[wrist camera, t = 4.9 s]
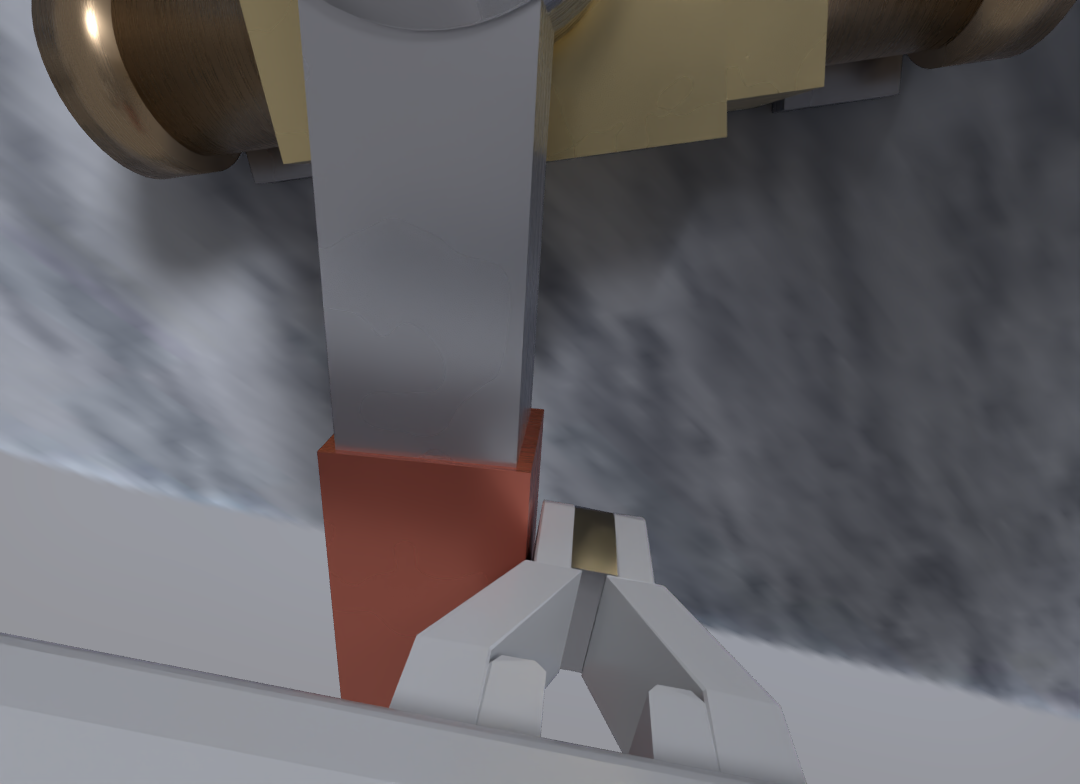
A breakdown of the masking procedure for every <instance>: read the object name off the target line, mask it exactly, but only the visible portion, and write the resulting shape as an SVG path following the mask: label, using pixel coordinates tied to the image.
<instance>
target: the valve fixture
mask: <svg viewBox="0 0 1080 784" xmlns="http://www.w3.org/2000/svg"><path fill="white" fill-rule="evenodd" d="M1076 1H1077V0H591V1H590V2H589V4H588V5H587V6H586V7H585V8H584V9H583V10H582V11H581V12H580V13H579V14H577V15H576V16H575V17H574V18H573V19H572V20H571V21H570V22H569V23H568V24H566V25H565V26H564V27H562V28H561V29H559V30H558V31H556V32H555V33H554V42H553V59H552V75H551V92H550V108H549V124H548V141H547V157H546V162H549V161H557V160H564V159H571V158H579V157H586V156H593V155H601V154H608V153H616V152H623V151H630V150H638V149H645V148H652V147H660V146H667V145H674V144H681V143H688V142H695V141H702V140H709V139H716V138H723V137H727V111H735V110H742V109H749V108H755V107H759V106H762V105H765V104H768V103H772V113H777V112H784V111H791V110H798V109H805V108H812V107H820V106H827V105H834V104H841V103H848V102H855V101H863V100H870V99H877V98H883V97H888V96H892V95H897V94H899V90H900V79H901V68H902V57H903V54H907V55H908V56H909V58H910V59H911V60H912V61H913V62H914V63H915V64H916V65H918V66H920V67H922V68H927V69H932V68H940V67H947V66H954V65H961V64H967V63H974V62H981V61H988V60H995V59H1002V58H1009V57H1013V56H1015V55H1018V54H1021V53H1023V52H1024V51H1026V50H1028V49H1030V48H1031V47H1033V46H1034V45H1036V44H1037V43H1038V42H1040V41H1041V40H1042V39H1043V38H1044V37H1045V36H1046V35H1048V34H1049V33H1050V32H1051V31H1052V30H1053V29H1054V28H1055V27H1056V26H1057V24H1058V23H1059V22H1060V21H1061V20H1062V19H1063V18H1064V16H1065V15H1066V14H1067V13H1068V11H1069V10H1070V9H1071V7H1072V6H1073V5H1074V3H1075V2H1076ZM32 20H33V28H34V33H35V37H36V41H37V45H38V48H39V51H40V54H41V57H42V60H43V63H44V65H45V67H46V70H47V72H48V74H49V77H50V79H51V81H52V83H53V85H54V87H55V88H56V90H57V92H58V94H59V96H60V98H61V99H62V101H63V102H64V104H65V106H66V107H67V109H68V110H69V112H70V113H71V114H72V116H73V117H74V119H75V120H76V121H77V123H78V124H79V125H80V127H81V128H82V129H83V130H84V131H85V132H86V134H87V135H88V136H89V137H90V138H91V139H92V140H93V141H94V142H95V143H96V144H97V145H98V146H99V147H100V148H101V149H102V150H103V151H104V152H105V153H107V154H108V155H109V156H110V157H111V158H113V159H114V160H115V161H117V162H118V163H120V164H121V165H122V166H124V167H126V168H127V169H129V170H131V171H133V172H135V173H137V174H140V175H142V176H145V177H149V178H153V179H169V178H176V177H183V176H190V175H197V174H204V173H211V172H218V171H223V170H225V169H227V168H229V167H230V166H232V165H233V164H234V163H235V162H236V160H237V159H238V157H239V155H240V153H241V152H246V154H247V157H248V161H249V164H250V168H251V171H252V175H253V178H254V182H255V184H263V183H274V182H282V181H289V180H296V179H303V178H310V177H313V176H312V164H311V152H310V140H309V128H308V116H307V104H306V92H305V80H304V68H303V56H302V44H301V32H300V20H299V8H298V0H32Z"/></svg>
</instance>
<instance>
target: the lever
mask: <svg viewBox="0 0 1080 784" xmlns="http://www.w3.org/2000/svg"><path fill="white" fill-rule="evenodd" d="M590 1H591V0H298V8H299V20H300V32H301V44H302V56H303V68H304V80H305V92H306V104H307V116H308V128H309V140H310V152H311V164H312V176H313V188H314V200H315V212H316V224H317V236H318V248H319V260H320V272H321V284H322V296H323V308H324V320H325V332H326V344H327V356H328V368H329V380H330V392H331V404H332V416H333V428H334V434H333V435H332V436H331V438H330V439H329V440H328V441H327V442H326V443H325V444H324V445H323V446H322V447H321V448H320V449H319V450H318V451H317V455H318V465H319V475H320V486H321V496H322V506H323V517H324V527H325V537H326V547H327V558H328V567H329V578H330V589H331V599H332V609H333V619H334V630H335V640H336V650H337V659H338V660H337V661H338V671H339V681H340V692H341V699H345V700H351V701H356V702H361V703H366V704H371V705H376V706H382V707H387V708H389V706H390V704H391V701H392V698H393V696H394V693H395V690H396V688H397V685H398V683H399V680H400V677H401V675H402V672H403V670H404V667H405V664H406V662H407V659H408V657H409V654H410V651H411V649H412V646H413V643H414V641H415V638H416V636H417V635H418V634H419V633H421V632H422V631H423V630H425V629H426V628H428V627H429V626H431V625H432V624H434V623H435V622H436V621H438V620H439V619H441V618H442V617H444V616H445V615H446V614H448V613H449V612H451V611H452V610H454V609H455V608H456V607H458V606H459V605H461V604H462V603H464V602H465V601H466V600H468V599H469V598H471V597H472V596H474V595H475V594H476V593H478V592H479V591H481V590H482V589H484V588H485V587H487V586H488V585H489V584H491V583H492V582H494V581H495V580H497V579H498V578H499V577H501V576H502V575H504V574H505V573H507V572H508V571H509V570H511V569H512V568H514V567H515V566H517V565H518V564H519V563H521V562H522V561H524V560H530V561H532V557H533V552H534V546H535V532H536V517H537V503H538V489H539V475H540V461H541V447H542V433H543V418H544V409H533V408H531V402H532V386H533V370H534V353H535V337H536V321H537V304H538V288H539V271H540V255H541V239H542V222H543V206H544V190H545V173H546V157H547V141H548V124H549V108H550V92H551V75H552V59H553V42H554V33H555V32H556V31H558V30H559V29H561V28H562V27H564V26H565V25H566V24H568V23H569V22H570V21H571V20H572V19H573V18H574V17H575V16H576V15H577V14H579V13H580V12H581V11H582V10H583V9H584V8H585V7H586V6H587V5H588V4H589V2H590Z"/></svg>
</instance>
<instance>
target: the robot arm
mask: <svg viewBox="0 0 1080 784" xmlns="http://www.w3.org/2000/svg"><path fill="white" fill-rule="evenodd" d="M560 669H564V670H571V671H575V672H580V673H582V678H583V679H584V681H585V683H586V685H587V686H588V689H589V691H590V693H591V694H592V696H593V698H594V700H595V702H596V704H597V706H598V708H599V709H600V711H601V713H602V715H603V717H604V719H605V721H606V723H607V725H608V727H609V728H610V730H611V732H612V734H613V736H614V738H615V740H616V742H617V743H618V745H619V747H620V749H621V751H622V753H619V752H615V751H609V750H604V749H599V748H594V747H589V746H583V745H578V744H573V743H567V742H563V741H557V740H552V739H547V738H541V727H542V715H543V703H544V691H545V688H546V687H547V686H548V685H549V684H550V682H551V681H552V680H553V679H554V677H555V676H556V675H557V674H558V673H559V670H560ZM0 784H807V783H806V780H805V777H804V774H803V771H802V768H801V765H800V762H799V759H798V756H797V753H796V750H795V747H794V744H793V741H792V738H791V735H790V732H789V729H788V726H787V724H786V720H785V717H784V714H783V711H782V708H781V706H780V705H779V704H778V703H777V702H776V701H775V700H774V699H773V698H772V697H771V695H769V693H768V692H767V691H765V689H764V688H763V687H762V686H761V685H760V684H759V683H758V682H757V681H756V680H755V679H754V678H753V677H752V676H751V675H750V674H749V673H748V672H747V671H746V670H745V669H744V668H743V667H742V666H741V665H740V663H739V662H738V661H737V660H736V659H735V658H734V657H733V656H732V655H731V654H730V653H729V652H728V651H727V650H726V649H725V648H724V647H723V646H722V645H721V644H720V643H719V642H718V641H717V640H716V639H715V638H714V637H713V636H712V635H711V634H710V633H709V632H708V630H707V629H706V628H705V627H704V626H703V625H702V624H701V623H700V622H699V621H698V620H697V619H696V618H695V617H694V616H693V615H692V614H691V613H690V612H689V611H688V610H687V609H686V608H685V607H684V606H683V605H682V604H681V603H680V602H679V601H678V600H677V598H676V597H675V596H674V595H673V594H672V593H671V592H670V591H669V590H668V589H667V588H666V587H665V586H663V585H658V584H655V581H654V574H653V567H652V560H651V554H650V547H649V540H648V533H647V526H646V520H645V519H644V518H643V517H637V516H631V515H624V514H617V513H609V512H605V511H600V510H595V509H590V508H585V507H580V506H575V507H574V505H572V504H566V503H560V502H554V501H549V500H544V501H543V504H542V510H541V515H540V520H539V526H538V531H537V536H536V541H535V547H534V552H533V557H532V561H530V560H524V561H522V562H521V563H519V564H518V565H517V566H515V567H514V568H512V569H511V570H509V571H508V572H507V573H505V574H504V575H502V576H501V577H499V578H498V579H497V580H495V581H494V582H492V583H491V584H489V585H488V586H487V587H485V588H484V589H482V590H481V591H479V592H478V593H476V594H475V595H474V596H472V597H471V598H469V599H468V600H466V601H465V602H464V603H462V604H461V605H459V606H458V607H456V608H455V609H454V610H452V611H451V612H449V613H448V614H446V615H445V616H444V617H442V618H441V619H439V620H438V621H436V622H435V623H434V624H432V625H431V626H429V627H428V628H426V629H425V630H423V631H422V632H421V633H419V634H418V635H417V636H416V638H415V641H414V643H413V646H412V649H411V651H410V654H409V657H408V659H407V662H406V664H405V667H404V670H403V672H402V675H401V677H400V680H399V683H398V685H397V688H396V690H395V693H394V696H393V698H392V701H391V704H390V706H389V708H387V707H382V706H376V705H371V704H366V703H361V702H356V701H351V700H345V699H340V698H335V697H330V696H325V695H320V694H315V693H309V692H304V691H299V690H294V689H288V688H284V687H278V686H273V685H268V684H263V683H258V682H252V681H248V680H242V679H237V678H232V677H227V676H222V675H217V674H212V673H206V672H201V671H196V670H191V669H186V668H181V667H176V666H170V665H165V664H159V663H155V662H150V661H145V660H140V659H134V658H128V657H124V656H119V655H114V654H108V653H103V652H98V651H93V650H88V649H83V648H77V647H72V646H67V645H62V644H57V643H52V642H47V641H42V640H36V639H31V638H26V637H21V636H16V635H11V634H6V633H0Z"/></svg>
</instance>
